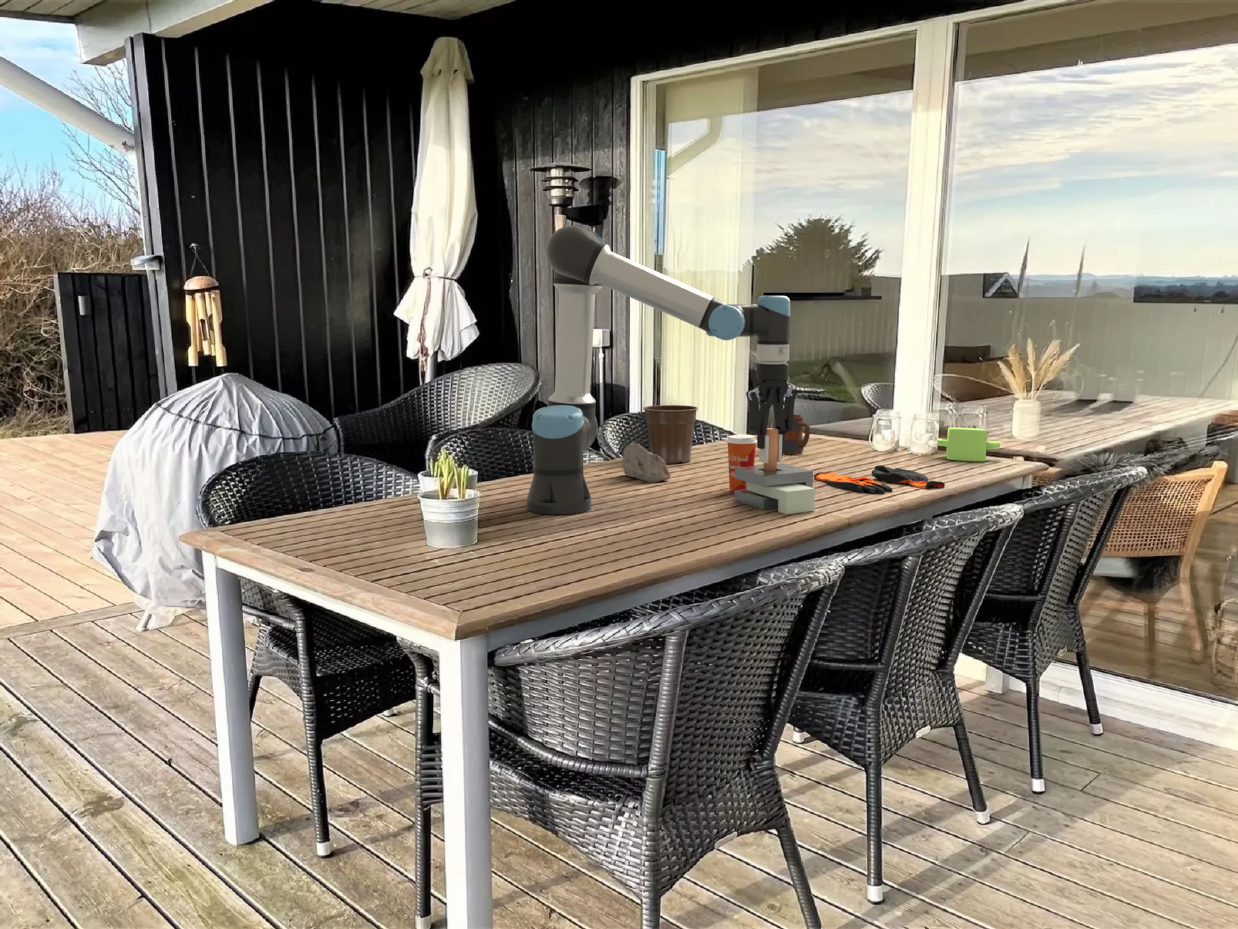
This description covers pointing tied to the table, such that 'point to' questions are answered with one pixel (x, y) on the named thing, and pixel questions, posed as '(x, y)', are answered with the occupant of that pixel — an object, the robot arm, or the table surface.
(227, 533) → the table surface
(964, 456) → the gearbox
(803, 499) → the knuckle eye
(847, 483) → the pair of gloves
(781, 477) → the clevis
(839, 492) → the table surface
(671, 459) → the plant pot
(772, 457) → the pin
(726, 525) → the table surface
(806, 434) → the mug
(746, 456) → the paper cup
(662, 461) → the pumice stone
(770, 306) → the robot arm
